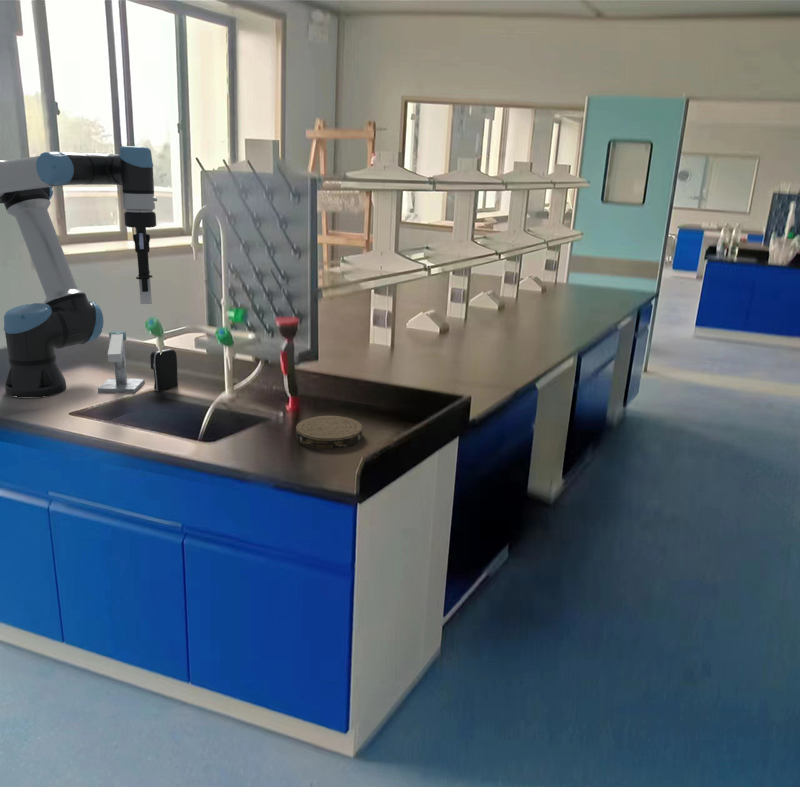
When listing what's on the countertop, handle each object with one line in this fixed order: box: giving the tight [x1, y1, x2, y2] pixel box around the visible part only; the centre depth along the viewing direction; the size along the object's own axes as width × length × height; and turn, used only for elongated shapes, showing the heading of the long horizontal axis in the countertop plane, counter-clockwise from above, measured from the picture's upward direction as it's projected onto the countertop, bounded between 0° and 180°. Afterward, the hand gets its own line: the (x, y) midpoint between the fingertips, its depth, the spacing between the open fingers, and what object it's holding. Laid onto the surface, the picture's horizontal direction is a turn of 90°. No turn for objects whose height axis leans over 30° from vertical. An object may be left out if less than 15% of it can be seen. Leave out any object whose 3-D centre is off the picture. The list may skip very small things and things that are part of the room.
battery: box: [149, 348, 179, 392], centre depth 207 cm, size 7×4×11 cm, turn 142°
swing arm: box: [107, 330, 127, 363], centre depth 194 cm, size 26×4×2 cm, turn 18°
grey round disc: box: [295, 415, 363, 450], centre depth 177 cm, size 16×16×3 cm
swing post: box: [97, 341, 146, 394], centre depth 206 cm, size 10×10×14 cm
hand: (146, 303), depth 192 cm, fingers closed
